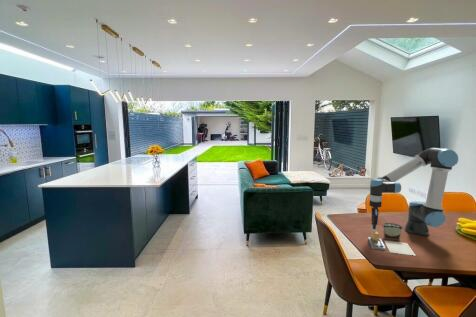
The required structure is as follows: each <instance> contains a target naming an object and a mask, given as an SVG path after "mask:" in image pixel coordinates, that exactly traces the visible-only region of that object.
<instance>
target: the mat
mask: <svg viewBox="0 0 476 317" xmlns="http://www.w3.org/2000/svg"><path fill="white" fill-rule="evenodd" d="M383 243H384V245H385V247H387V248H386V249H388V252H389V254H396V253H397V254H399V255H404V256H412V255H413V257H416V256H417V255H416V254H415V253H414V251H413V250H412V248H411V247H410V245H409V244H408V243H407V242H399V241H393V240H383Z"/></svg>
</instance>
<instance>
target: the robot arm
mask: <svg viewBox="0 0 476 317" xmlns="http://www.w3.org/2000/svg"><path fill="white" fill-rule="evenodd" d="M458 162H459V155H458V153H457V152H456V151H455V150H453V149H449V148H443V147H441V148H440V147H430V148H427V149H425V150H422V151H421V152H419V153H417V154H415V155H414V157H413V158H412V159H410V160H408V161H407V162H405V163H403V164H402V165H400V166H399V167H397V168H395V169H394V170H392V171H391V172H388V173H387V174H385V175H384V176H382V177H377V178H372V179H371V180H370V185H369V186H370V187H369V188H370V189H369V195H368V197H369V201H368V202H369V203H368V204H369V207H371V209H370V210H371V223H370V224H371V231H370V232H371V234H373V231H376V232H377V225H378V221H379V214H380V213H379V212H380V210H379V208H381V207H382V201H383V193H384V194H390V193H391V194H397V193H400V192H401V191H402V184H401V183H400V182H398V181H400V180H401V179H403V178H404V177H406V176H408V175H409V174H411V173H413V172H415V171H416V170H418V169H420V168H421V167H426V166H428V165H430V166H429V167H430V169H432V171H431V176H430V180H429V185H428V191H427V195H426V199H425V200H426V201H410V202H409V203H408V215H407V216H408V217H407V218H408V219H407V221H406V224H405V226H404V231H405V232H407V233H410V234H412V235H417V236H428V235H429V234H430V230H429V226H430V227H432V228H438V227H441V226H442V225H444V224H445V223H446V217H447V216H446V215H445V213H444V207H443V206H442V204H443V200H444V199H443V198H444V193H445V189H446V186H447V185H446V184H447V179H448V175H449V172H451V171H452V170H453V167H455V166H456V165H457V164H458Z"/></svg>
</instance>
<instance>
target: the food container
mask: <svg viewBox="0 0 476 317" xmlns="http://www.w3.org/2000/svg"><path fill="white" fill-rule="evenodd" d="M382 227H383V236H384V237H383V238H384V239H387V240H395V241H397V240H398V241H400V239H401V235H402V230H404V229H403V226H402V225H400V224H398V223H395V222H384V223H383V224H382Z"/></svg>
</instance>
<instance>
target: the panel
mask: <svg viewBox="0 0 476 317" xmlns="http://www.w3.org/2000/svg"><path fill="white" fill-rule="evenodd" d="M367 240H368V243H369V245H370V248H371V249H372V250H373V249H374V250H381V251H386V250H387V248H386V245H385V243H384V241H383V240H382V238H379V241H375V240H373V238H372V237H369V236H368V237H367Z"/></svg>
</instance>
